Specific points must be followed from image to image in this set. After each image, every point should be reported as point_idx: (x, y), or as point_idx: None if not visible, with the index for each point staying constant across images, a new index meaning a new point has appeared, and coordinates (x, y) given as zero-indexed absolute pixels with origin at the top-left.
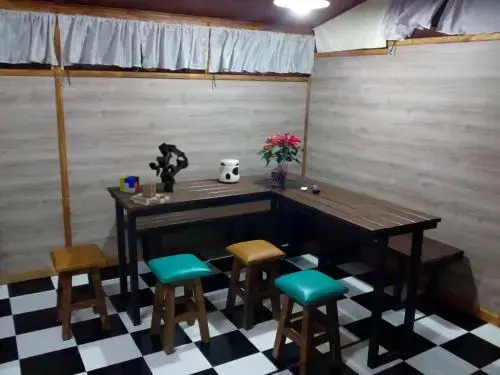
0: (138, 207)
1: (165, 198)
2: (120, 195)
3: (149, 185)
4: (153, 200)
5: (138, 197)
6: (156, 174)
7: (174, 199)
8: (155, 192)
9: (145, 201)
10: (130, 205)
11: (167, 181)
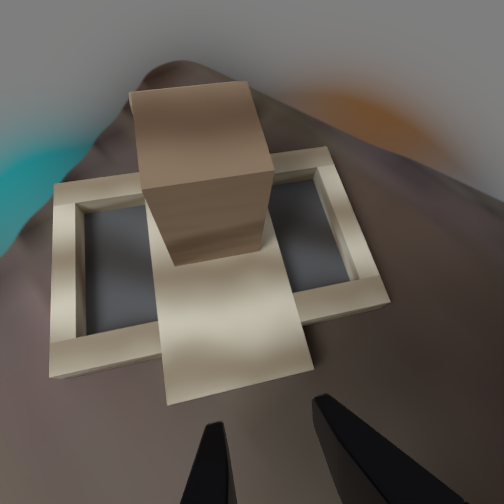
0: (150, 77)
1: (53, 273)
2: (487, 212)
3: (154, 93)
4: (122, 177)
5: None
6: (358, 425)
7: (10, 392)
8: (167, 247)
9: None
10: None
11: None
